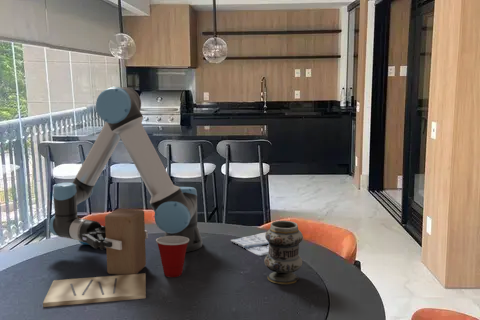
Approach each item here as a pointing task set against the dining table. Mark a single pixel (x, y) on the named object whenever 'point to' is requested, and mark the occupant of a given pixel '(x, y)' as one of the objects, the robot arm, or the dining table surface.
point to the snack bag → (254, 244)
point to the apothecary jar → (283, 252)
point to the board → (96, 290)
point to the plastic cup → (172, 254)
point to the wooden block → (126, 241)
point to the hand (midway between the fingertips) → (134, 240)
